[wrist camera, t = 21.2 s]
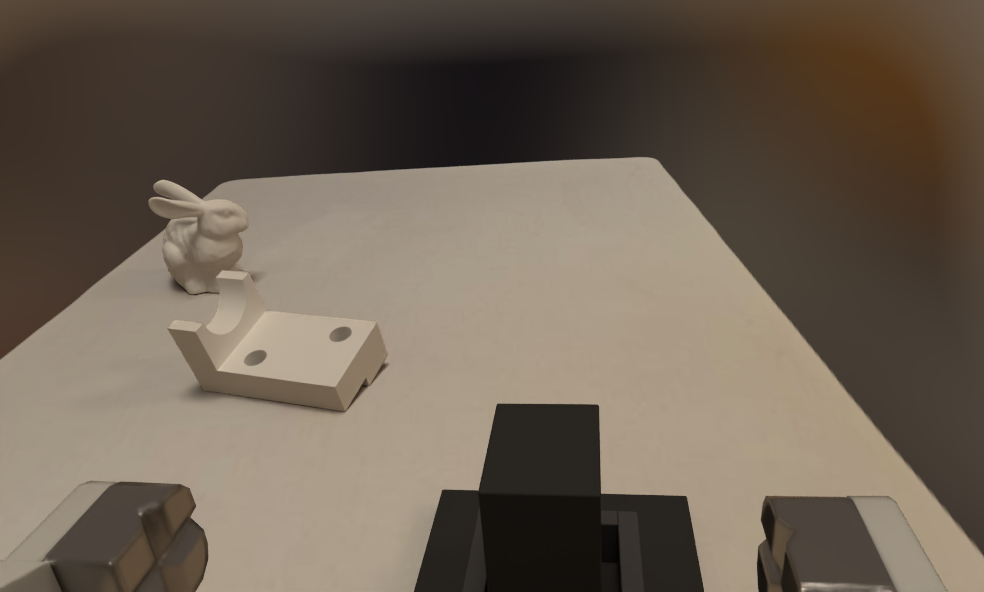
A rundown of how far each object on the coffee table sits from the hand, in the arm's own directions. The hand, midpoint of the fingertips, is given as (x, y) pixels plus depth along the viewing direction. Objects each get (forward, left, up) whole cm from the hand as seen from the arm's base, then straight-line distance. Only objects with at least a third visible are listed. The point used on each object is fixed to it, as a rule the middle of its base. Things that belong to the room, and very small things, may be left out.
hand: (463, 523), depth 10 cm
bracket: (+22, -39, -22) cm, 50 cm away
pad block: (0, -16, -20) cm, 26 cm away
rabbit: (+39, -59, -22) cm, 74 cm away
